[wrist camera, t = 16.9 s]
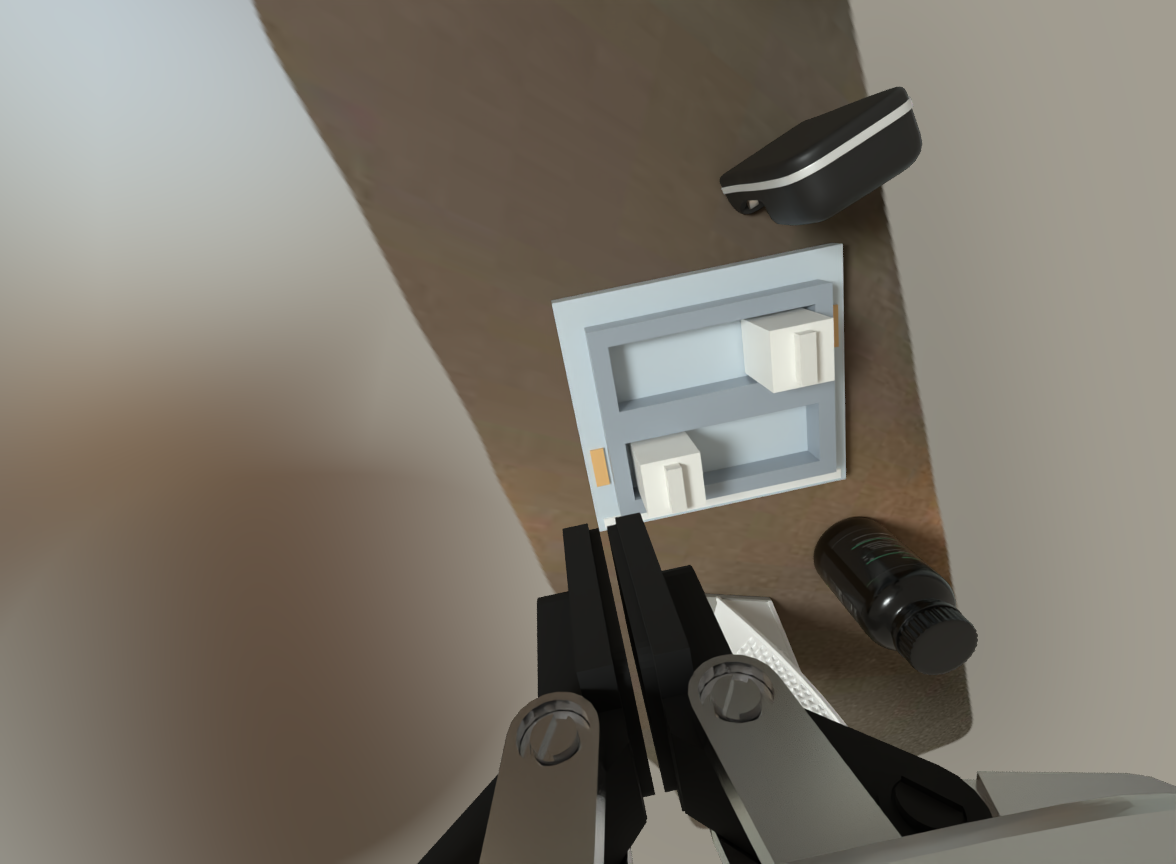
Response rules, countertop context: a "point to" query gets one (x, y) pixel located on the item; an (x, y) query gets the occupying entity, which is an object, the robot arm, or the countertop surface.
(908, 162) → the battery charger
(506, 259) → the countertop surface
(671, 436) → the tab
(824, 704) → the skyscraper
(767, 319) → the tab
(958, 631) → the supplement bottle
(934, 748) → the countertop surface
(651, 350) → the switch bank
